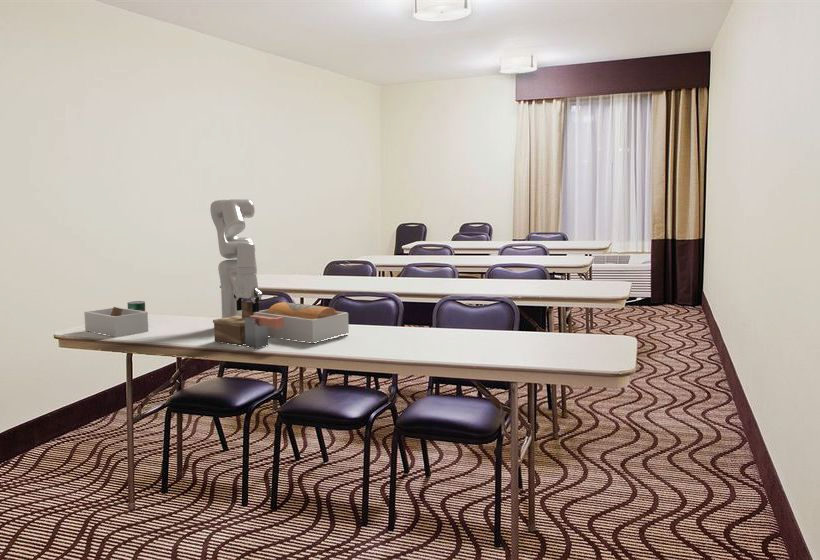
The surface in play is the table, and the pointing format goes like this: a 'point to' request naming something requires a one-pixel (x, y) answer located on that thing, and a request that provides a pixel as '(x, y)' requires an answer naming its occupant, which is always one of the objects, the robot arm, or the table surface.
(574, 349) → the table surface
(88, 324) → the frame
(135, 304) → the canned tomato
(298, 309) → the orange brown curved block
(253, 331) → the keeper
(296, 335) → the frame
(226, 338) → the brown open box
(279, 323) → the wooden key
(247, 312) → the lid
